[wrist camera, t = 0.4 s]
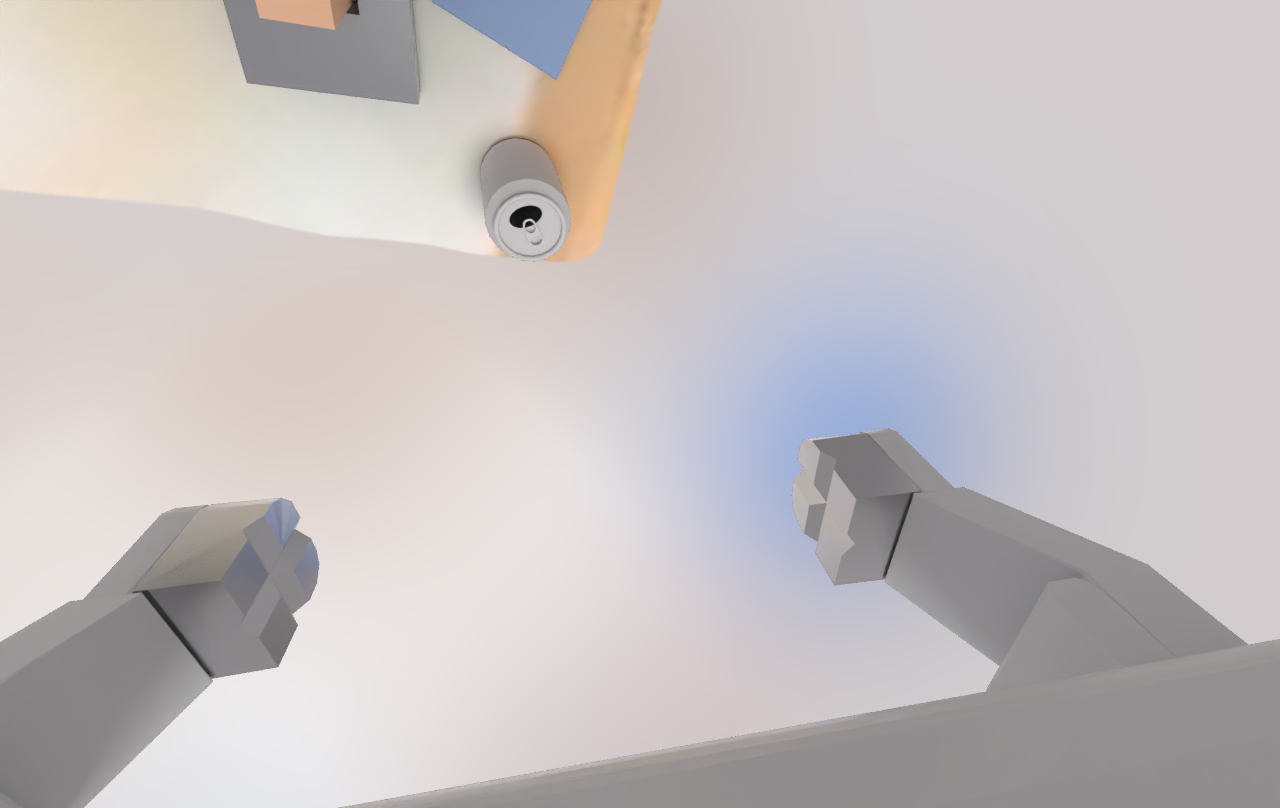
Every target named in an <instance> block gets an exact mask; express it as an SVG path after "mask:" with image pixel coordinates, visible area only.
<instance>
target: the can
mask: <svg viewBox="0 0 1280 808" xmlns="http://www.w3.org/2000/svg"><path fill="white" fill-rule="evenodd" d="M481 187H482V196H483V206H484V215H485V224H486V227H487V230H488V233H489V236H490V238H491V239H492V240H493V242H494V243H495V244H496V245H497V247H498V248H500V249H501V250H503V251H504V252H505V253H507V254H508V255H511V256H512V257H514V258H517V259H520V260H522V261H538V260H543V259H546V258H548V257H549V256H551V255H553V254H554V253H555V252H556V251H557V250H558V249H559V248H560V247H561V246H562V244H563V243H564V242H565V240H566V238H567V236H568V234H569V232H570V226H571V214H570V210H569V205H568V203H567V200H566V197H565V194H564V191H563V189H562V186H561V183H560V180H559V177H558V175H557V172H556V169H555V166H554V164H553V162H552V160H551V158H550V157H549V155H548V154H547V153H546V152H545V151H544V150H543V149H542V148H541V147H540V146H539V145H537V144H535V143H533V142H531V141H529V140H524V139H517V138H513V139H509V140H504V141H501V142H500V143H498V144H496V145H495V146H493V147H492V148H491V149H490V150H489V152H488V153H487V154H486V155H485V157H484V160H483V162H482V165H481Z"/></svg>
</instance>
